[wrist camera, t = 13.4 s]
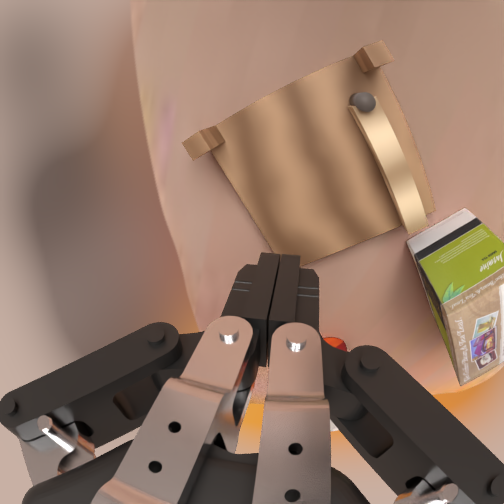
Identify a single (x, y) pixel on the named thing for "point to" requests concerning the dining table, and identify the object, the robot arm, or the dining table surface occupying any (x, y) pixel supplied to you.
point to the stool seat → (314, 159)
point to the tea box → (464, 290)
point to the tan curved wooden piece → (389, 160)
